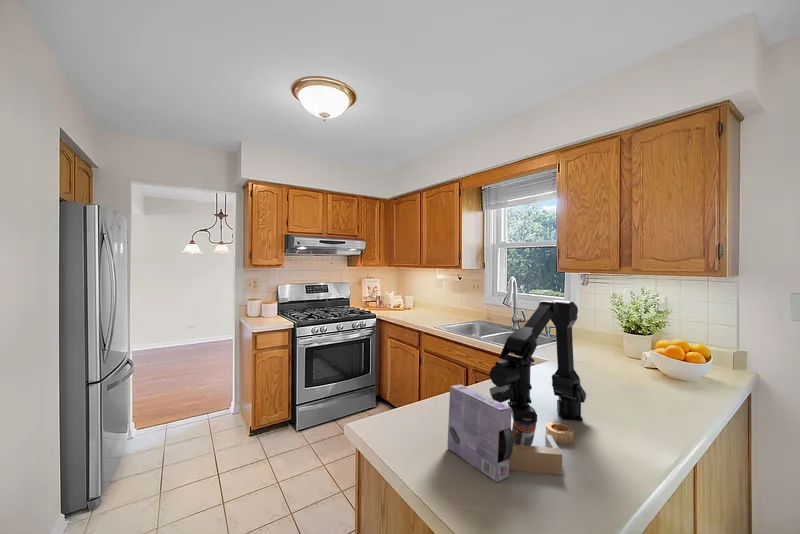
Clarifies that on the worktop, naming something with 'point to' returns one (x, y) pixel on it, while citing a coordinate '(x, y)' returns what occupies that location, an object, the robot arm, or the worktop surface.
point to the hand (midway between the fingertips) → (518, 430)
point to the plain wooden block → (537, 458)
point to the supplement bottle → (523, 432)
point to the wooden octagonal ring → (560, 432)
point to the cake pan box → (480, 431)
